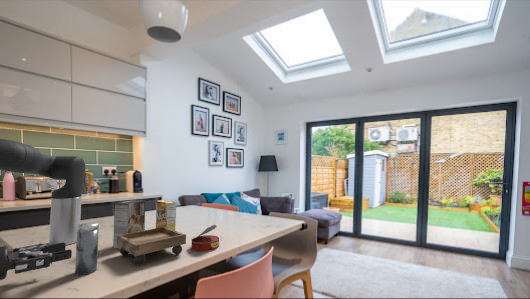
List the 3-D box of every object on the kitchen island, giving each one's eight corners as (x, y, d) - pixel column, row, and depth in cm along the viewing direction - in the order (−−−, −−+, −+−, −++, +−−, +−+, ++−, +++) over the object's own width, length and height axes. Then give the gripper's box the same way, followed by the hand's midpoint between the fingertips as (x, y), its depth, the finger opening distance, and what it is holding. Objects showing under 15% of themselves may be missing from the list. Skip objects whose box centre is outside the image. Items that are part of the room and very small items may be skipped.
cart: (116, 254, 83) (117, 235, 83) (163, 243, 95) (164, 226, 95) (134, 268, 72) (135, 245, 73) (185, 253, 84) (186, 234, 84)
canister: (73, 271, 70) (75, 224, 71) (94, 266, 74) (96, 221, 75) (77, 277, 67) (79, 227, 68) (99, 271, 70) (101, 224, 71)
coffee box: (130, 240, 99) (131, 199, 100) (144, 241, 98) (146, 200, 99) (112, 248, 90) (113, 203, 91) (127, 249, 89) (129, 203, 90)
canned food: (200, 265, 86) (187, 242, 84) (194, 253, 95) (182, 232, 93) (228, 246, 91) (217, 223, 88) (220, 236, 100) (209, 215, 97)
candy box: (154, 239, 102) (155, 200, 103) (164, 236, 105) (165, 199, 106) (165, 243, 96) (166, 202, 97) (175, 240, 99) (176, 201, 100)
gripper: (-24, 258, 51) (74, 240, 63) (-21, 243, 61) (64, 230, 73) (-27, 296, 51) (73, 271, 63) (-23, 275, 60) (62, 257, 72)
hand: (68, 249), depth 68 cm, fingers open, 8 cm apart
